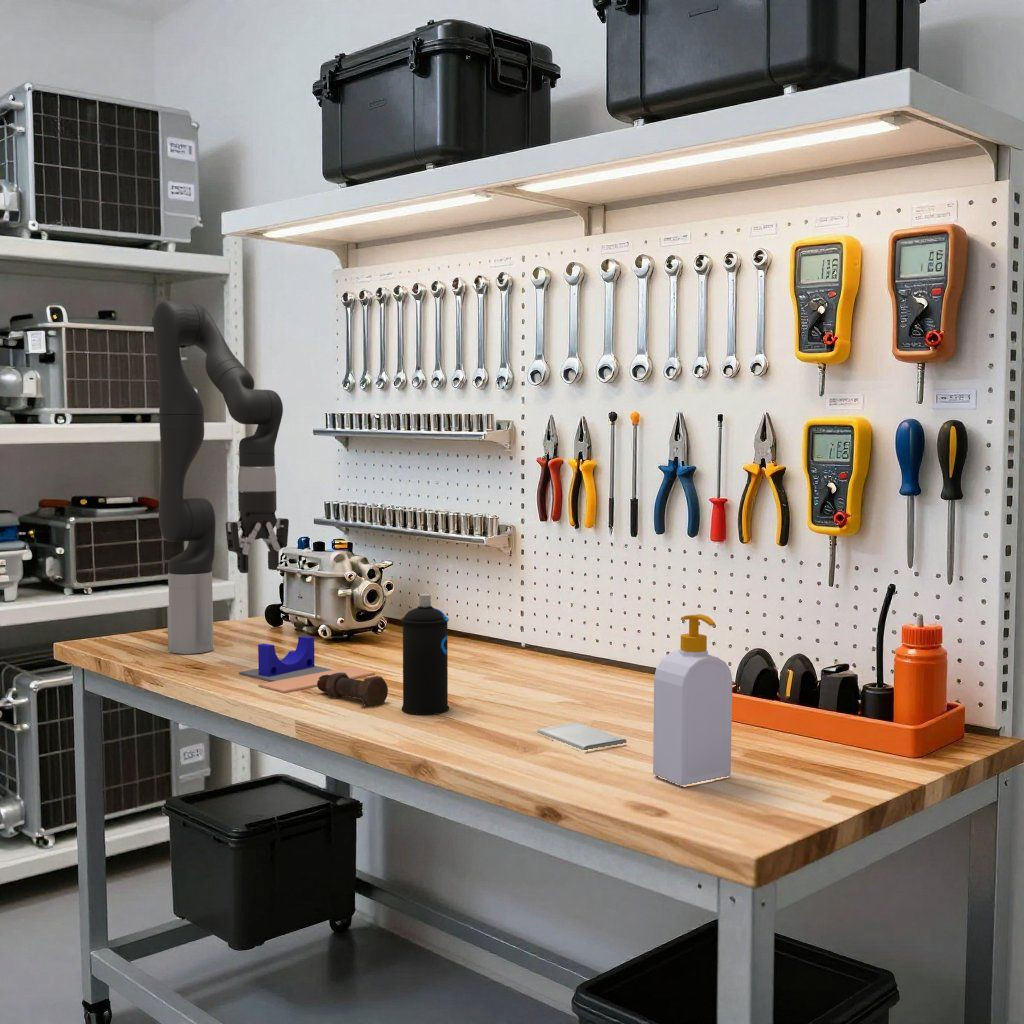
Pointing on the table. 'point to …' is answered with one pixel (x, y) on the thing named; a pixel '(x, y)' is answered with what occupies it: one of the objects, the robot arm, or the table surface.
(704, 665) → the soap bottle
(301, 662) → the blue cradle block
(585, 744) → the hard drive
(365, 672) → the t mat
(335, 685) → the bolt
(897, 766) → the table surface
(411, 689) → the aerosol can
